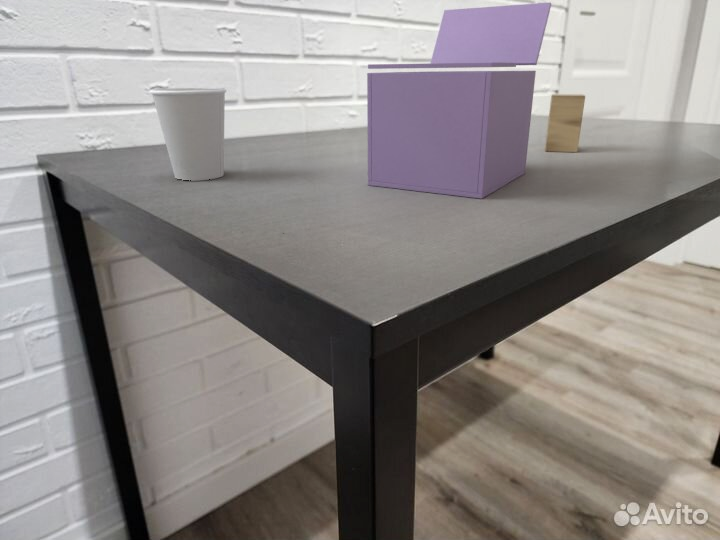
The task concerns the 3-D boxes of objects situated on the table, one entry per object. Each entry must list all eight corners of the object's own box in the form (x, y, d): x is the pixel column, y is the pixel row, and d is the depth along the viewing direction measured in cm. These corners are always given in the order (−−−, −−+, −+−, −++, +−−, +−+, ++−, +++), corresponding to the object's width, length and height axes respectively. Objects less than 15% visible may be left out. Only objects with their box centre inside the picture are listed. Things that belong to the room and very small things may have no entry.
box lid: (429, 64, 63) (430, 66, 64) (535, 63, 57) (536, 65, 57) (444, 9, 64) (445, 11, 64) (551, 2, 58) (551, 4, 58)
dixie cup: (189, 168, 67) (178, 87, 63) (246, 171, 65) (239, 87, 61) (147, 181, 59) (132, 90, 56) (211, 184, 57) (200, 90, 54)
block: (545, 147, 81) (551, 94, 78) (575, 148, 80) (583, 94, 77) (545, 151, 77) (552, 95, 74) (577, 152, 76) (585, 95, 73)
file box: (426, 164, 68) (430, 64, 64) (525, 173, 62) (536, 62, 57) (367, 185, 56) (366, 64, 52) (482, 199, 50) (492, 62, 45)
